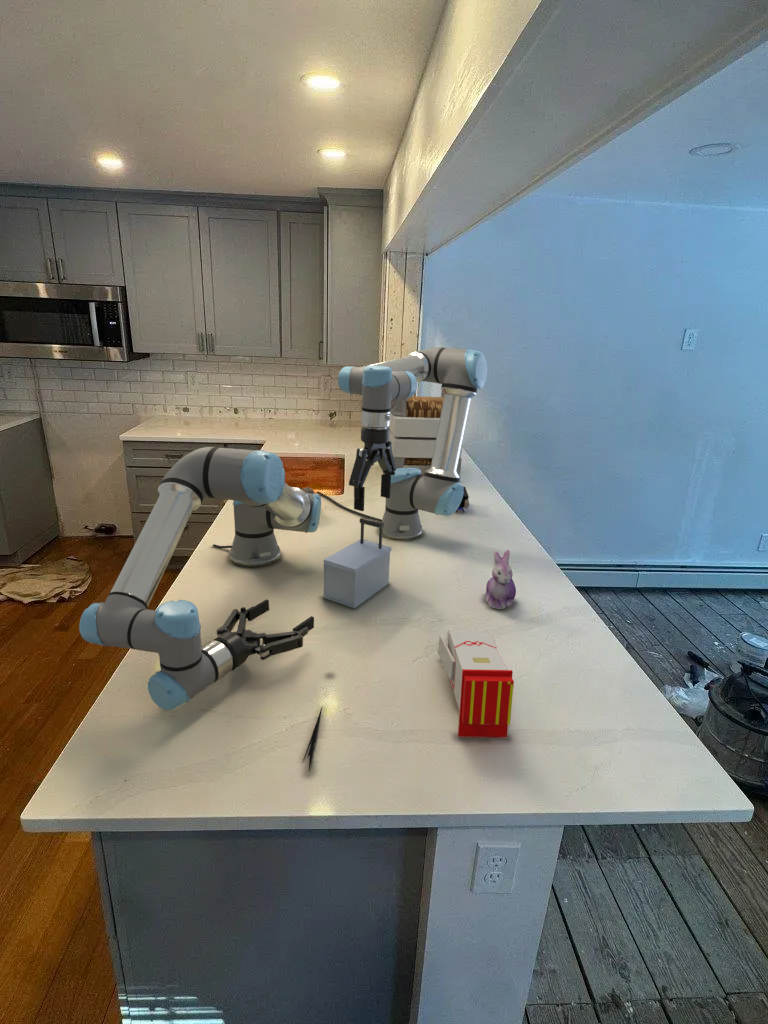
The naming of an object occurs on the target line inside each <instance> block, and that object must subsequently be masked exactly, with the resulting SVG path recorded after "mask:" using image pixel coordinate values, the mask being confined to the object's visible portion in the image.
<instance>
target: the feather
mask: <svg viewBox="0 0 768 1024" xmlns="http://www.w3.org/2000/svg"><path fill="white" fill-rule="evenodd" d="M329 675H330V676H331V675H332V674H331V673H330V674H329ZM322 710H323V707H321V708H320V710H319V713H318V716H317V719H316V723H315V725H314V728H313V731H312V733H311V737H310V739H309V742H308V745H307V748H306V751H305V754H304V757H303V760H302V763H301V767H302V765H303V763H304V761H305V758H308V759H309V760H308V762H307V763H308V764H307V766H308V771H310V770H311V766H312V765H311V764H312V760H313V757H315V756H314V755H315V751H316V749H315V746H317V739H318V733H319V729H320V722H321V717H322V712H323V711H322ZM313 754H314V755H313ZM306 755H307V757H306Z"/></svg>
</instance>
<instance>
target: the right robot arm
mask: <svg viewBox="0 0 768 1024" xmlns="http://www.w3.org/2000/svg"><path fill="white" fill-rule="evenodd" d="M487 378H488V364H487V360H486V357H485V355H484V353H482V352H481V351H479V350H476V349H475V350H474V349H471V348H470V349H469V348H456V347H455V348H453V347H443V346H439V347H430V348H426V349H421V350H417V351H412V352H409V354H407V355H406V356H405V357H404V356H403V357H400V358H396V359H391V360H386V361H383V362H377V363H373V364H369V365H363V366H354V365H351V366H347V365H346V366H344V367H342V368H341V369H340V370H339V373H338V376H337V384H338V387H339V390H341V392H343V393H344V394H345V393H346V394H350V395H357V396H361V399H362V400H361V415H360V416H361V417H360V425H361V427H360V441H361V442H362V443H364V446H363V448H357V449H356V456H355V460H354V463H353V467H352V469H351V470H352V471H351V475H350V478H349V481H348V485H349V486H350V487H353V509H351V508H349V507H346V506H344V505H342V504H341V503H339V502H337V501H335V500H334V499H333V498H332V497H330V496H328V495H326V494H324V493H322V492H320V491H316V494H318V495H320V496H322V497H324V498H325V499H327V500H328V501H330V502H332V503H333V504H335V505H336V506H338V507H339V508H341V509H343V510H345V511H347V512H350V513H353V514H355V515H358V516H360V517H363V518H367V519H371V520H375V521H379V522H383V523H384V527H383V532H382V537H385V538H387V539H389V540H395V541H410V540H415V539H418V538H420V537H421V536H422V535H423V525H422V524H421V518H420V515H419V510H420V511H423V512H426V513H431V514H435V516H443V517H450V516H452V515H453V514H454V513H456V510H457V511H458V507H459V505H460V503H461V501H462V498H463V493H464V491H463V489H464V488H463V486H464V485H463V484H462V483H461V482H459V479H460V480H461V476H460V477H459V475H458V474H457V472H456V470H457V465H458V460H459V455H460V450H461V445H462V446H463V443H462V441H464V440H463V439H464V434H465V429H466V424H467V419H468V414H469V409H470V404H471V400H472V398H474V397H475V396H477V393H478V390H481V389H482V388H484V386H485V384H486V382H487ZM420 382H427V383H433V384H439V385H441V386H440V390H441V392H442V391H443V393H444V400H443V406H442V411H441V416H440V421H439V426H438V432H437V437H436V442H435V447H434V453H433V458H432V463H431V465H430V466H429V468H427V469H426V470H424V475H423V474H422V470H421V468H419V467H404V468H398V469H396V466H395V461H394V457H393V453H392V443H391V441H389V433H390V429H389V428H388V426H389V425H390V419H391V417H390V409H391V402H392V401H397V400H404V399H407V398H410V397H412V396H415V394H416V392H417V390H418V383H420ZM375 463H378V465H379V467H380V469H381V470H382V474H381V475H380V480H381V481H380V497H381V498H385V504H384V505H385V507H384V508H385V509H384V513H383V515H382V519H381V518H378V517H375V516H371V515H368V514H365V513H362V512H364V511H365V491H366V490H365V486H364V484H365V483H366V482H365V481H366V480H367V477H368V475H369V473H370V470H371V467H373V466H374V465H375ZM390 465H391V466H390ZM359 511H360V512H359Z"/></svg>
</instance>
